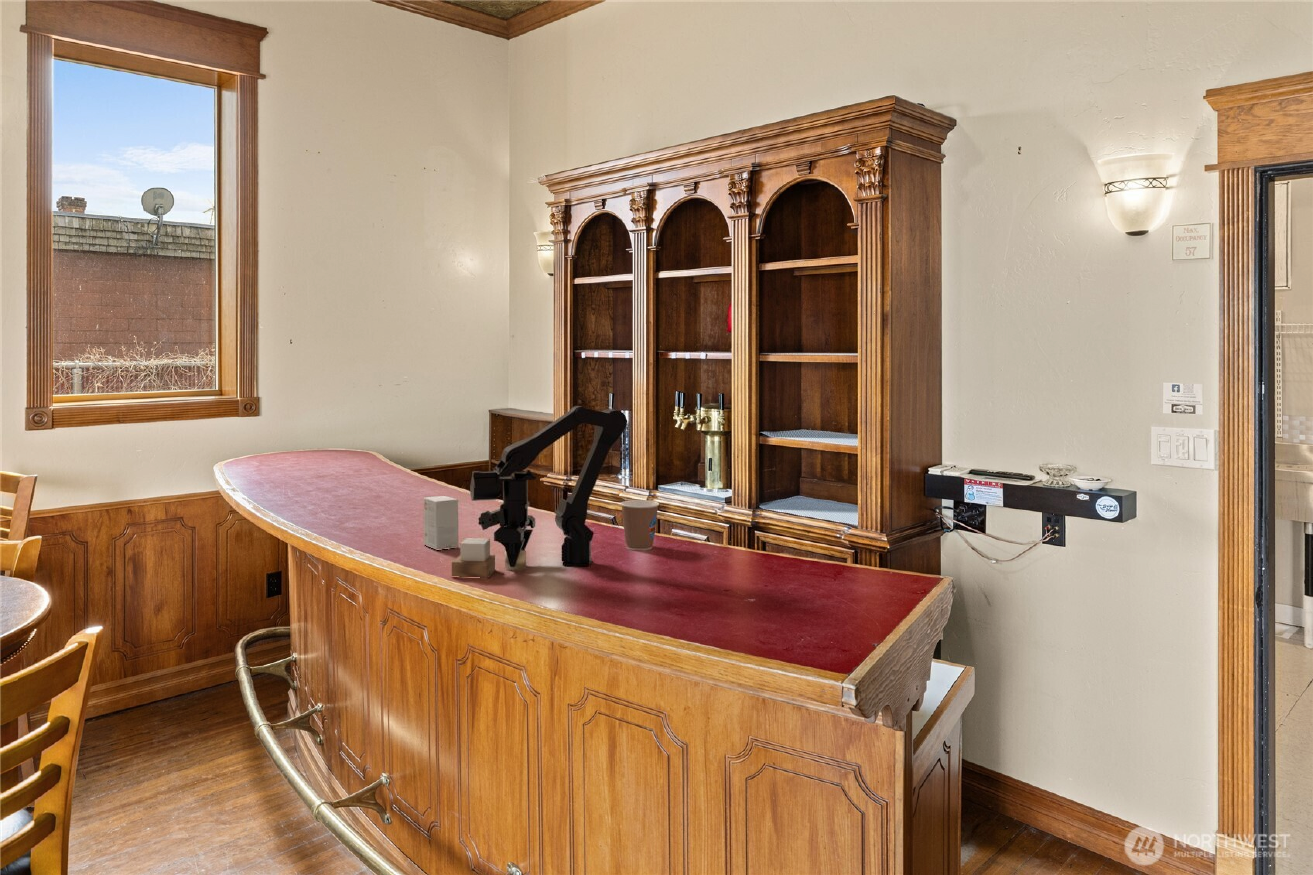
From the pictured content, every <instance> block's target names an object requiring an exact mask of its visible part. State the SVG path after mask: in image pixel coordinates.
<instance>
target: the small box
mask: <svg viewBox="0 0 1313 875" xmlns="http://www.w3.org/2000/svg"><path fill="white" fill-rule="evenodd" d="M424 544H426V545H427V546H429V547H431V548H434V549H445V548H455V549H458V548H457V547H459V499H457V498H454V497H451V496H446V495H440V496H439V495H437V496H428V497H427V496H425V497H423V545H424ZM431 548H430V549H431Z"/></svg>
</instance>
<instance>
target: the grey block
mask: <svg viewBox="0 0 1313 875" xmlns="http://www.w3.org/2000/svg"><path fill="white" fill-rule="evenodd" d="M490 555H491V538H478V537H477V538H476V537H475V538H470V537H469V538H468V537H466V538H465V539H463V540H462V542H460V553H459V556H460V561H485V560H486V559H487V558H488V557H489V556H490Z"/></svg>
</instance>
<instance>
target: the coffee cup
mask: <svg viewBox="0 0 1313 875" xmlns="http://www.w3.org/2000/svg"><path fill="white" fill-rule="evenodd" d="M659 505H660V502H658V501H654V500H646V499H634V500H633V499H630V500H624V501H622V502H620V506H621V512H622V513H621V514H622V522H623V533H624V541H625V545H626V546H625V547H626V549H628V550H631V551H632V550H633V551H650V550H651V549H653V547H654V546H653V545H654V539H655V533H656V525H657V518H658V511H659V507H658V506H659Z"/></svg>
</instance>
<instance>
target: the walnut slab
mask: <svg viewBox="0 0 1313 875" xmlns="http://www.w3.org/2000/svg"><path fill="white" fill-rule="evenodd" d="M494 570H495V571H496V555H495V554H490V556H489V557H488V558H487V559H486V560H485V561H460V555H458V556H457V557H456V558H455V559H453V560H452V561H451V577H452V576H459V577H480V578H487V577H488V576H489V575H490V574H491V573H492V572H493V571H494ZM495 571H494V572H495ZM494 572H493V573H494ZM493 573H492V574H493ZM492 574H491V575H492ZM491 575H490V576H491ZM490 576H489V577H490ZM489 577H488V578H489ZM488 578H487V579H488Z"/></svg>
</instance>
